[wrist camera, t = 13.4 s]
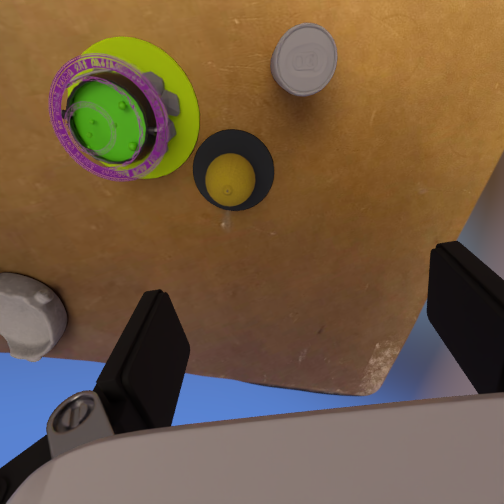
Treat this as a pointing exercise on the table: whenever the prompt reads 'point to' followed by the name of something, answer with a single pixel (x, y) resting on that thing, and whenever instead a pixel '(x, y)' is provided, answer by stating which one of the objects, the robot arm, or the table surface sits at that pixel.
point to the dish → (29, 316)
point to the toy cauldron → (127, 109)
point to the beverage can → (304, 59)
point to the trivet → (244, 147)
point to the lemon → (230, 179)
